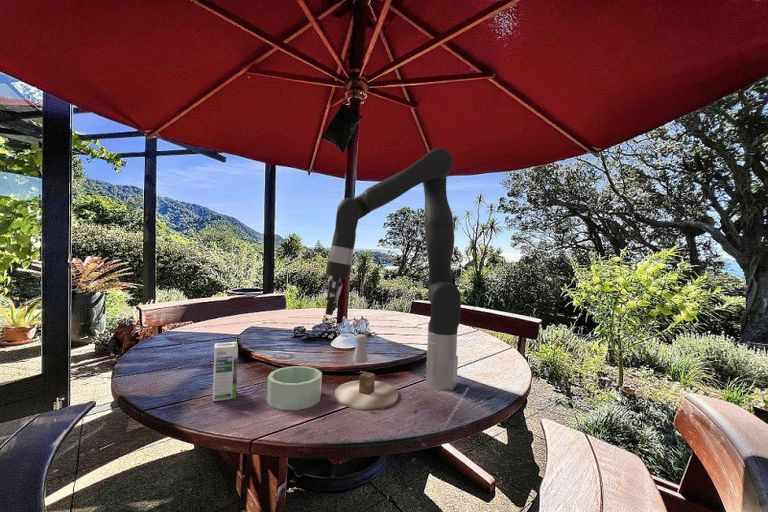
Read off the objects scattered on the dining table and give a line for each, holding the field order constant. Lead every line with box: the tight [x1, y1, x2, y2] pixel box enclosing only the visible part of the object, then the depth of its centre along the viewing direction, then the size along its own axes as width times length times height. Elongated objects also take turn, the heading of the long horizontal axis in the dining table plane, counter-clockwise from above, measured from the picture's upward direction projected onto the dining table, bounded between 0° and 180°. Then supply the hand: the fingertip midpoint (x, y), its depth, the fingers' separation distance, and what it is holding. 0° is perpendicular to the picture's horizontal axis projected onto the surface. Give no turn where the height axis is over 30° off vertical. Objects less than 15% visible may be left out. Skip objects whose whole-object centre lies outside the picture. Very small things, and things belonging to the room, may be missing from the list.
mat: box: [326, 389, 403, 414], centre depth 95 cm, size 16×16×1 cm
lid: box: [334, 371, 399, 411], centre depth 95 cm, size 18×18×6 cm
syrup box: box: [212, 341, 239, 402], centre depth 92 cm, size 6×6×14 cm
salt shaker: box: [352, 333, 369, 374], centre depth 115 cm, size 6×6×13 cm
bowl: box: [266, 365, 323, 411], centre depth 91 cm, size 14×14×7 cm
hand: (330, 312), depth 104 cm, fingers open, 8 cm apart
